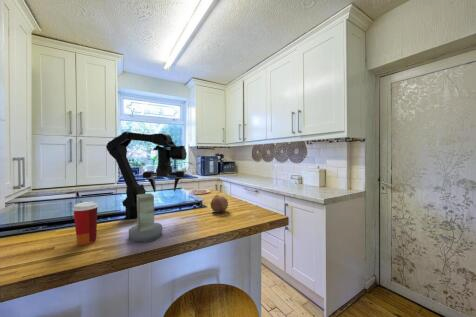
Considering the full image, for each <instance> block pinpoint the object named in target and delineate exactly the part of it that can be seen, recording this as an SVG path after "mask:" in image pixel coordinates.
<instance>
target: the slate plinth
mask: <svg viewBox="0 0 476 317" xmlns="http://www.w3.org/2000/svg"><path fill="white" fill-rule="evenodd" d="M162 235H163V225H162V224H161V223H159V222H154V229H150V230H146V231H140V230H139V229H138V225H136V224H135V225H133V226H132V227H130V228H129V229H128V241H129V242H133V243H139V244H141V243H147V242H151V241H152V242H153V241H155V240H157V239H159V238H161V237H162Z"/></svg>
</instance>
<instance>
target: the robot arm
mask: <svg viewBox="0 0 476 317" xmlns="http://www.w3.org/2000/svg"><path fill="white" fill-rule="evenodd" d="M132 141H138V142H139V141H140V142H147V143H152V144H154V145H156V146H155V147H153V149H152V150H153V151H157V166H156V170H155V171H154V170H145V171H143V172H142V179H145V180H147V181H149V183H150V185H151V187H152V191H153V193H156V190H157V187H156V178H160V177H164V178H166V177H175V178H174V186H173V192H176V190H177V187H178V184H179V181H180V180H181V179H182V178H184V177H185V176H186V175H185V172H186V171H185V170H181V169H180V170H176V171H173V166H172V165H171V159H172V160H173V161H185V160H186V159H187V155H188V154H187V150H186V148H185V145H178V146H177V145H176V144H175V143H174V141H173V138H172V136H171V134H167V133H152V134H149V133H140V132H133V131H123V132H122V133H120V134H119V135H118V136H115V137H114V138H113V139H112V140H109V141H108V143H106V147H105V148H106V150H107V152H108V154H109V155H110V156H111V157H112V158H114V160H115V162H116V164H117V166H118V168H119V171H120V173H121V176H122V178H123V181H124V183H125V185H126V190H125V194H126V198H125V199H124V200H122V202H121V203H122V206H123V207H125V216H124V219H137V195H141V194H147V193H146V192H147V190H146V189H145V186H144V185H143V184H142V183H141V184H140V183H138V181H137V179H136V176H135V174H134V172H133V170H132V166H131V165H130V162H129V159H128V157H127V154H128V147H129V145H130V144H131V142H132ZM155 177H156V178H155Z"/></svg>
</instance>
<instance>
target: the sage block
mask: <svg viewBox="0 0 476 317" xmlns="http://www.w3.org/2000/svg"><path fill="white" fill-rule="evenodd" d="M136 219H137V223H136V224H137V225H138V229H139V230H140V231H146V230H150V229H154V223H155V195H154V194H152V193H150V192H149V193H146V194H141V195H137V218H136Z"/></svg>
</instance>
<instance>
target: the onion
mask: <svg viewBox="0 0 476 317" xmlns="http://www.w3.org/2000/svg"><path fill="white" fill-rule="evenodd" d="M228 207H229V202H228V199H227V198H226V197H225V196H223V195H222V196H220V195H217V194H216V195H215V196H213V198H212V199H211V201H210V208H211V210H212V211H213V212H215V213H218V214H222V213H225V211H226V210H227V209H228Z"/></svg>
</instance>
